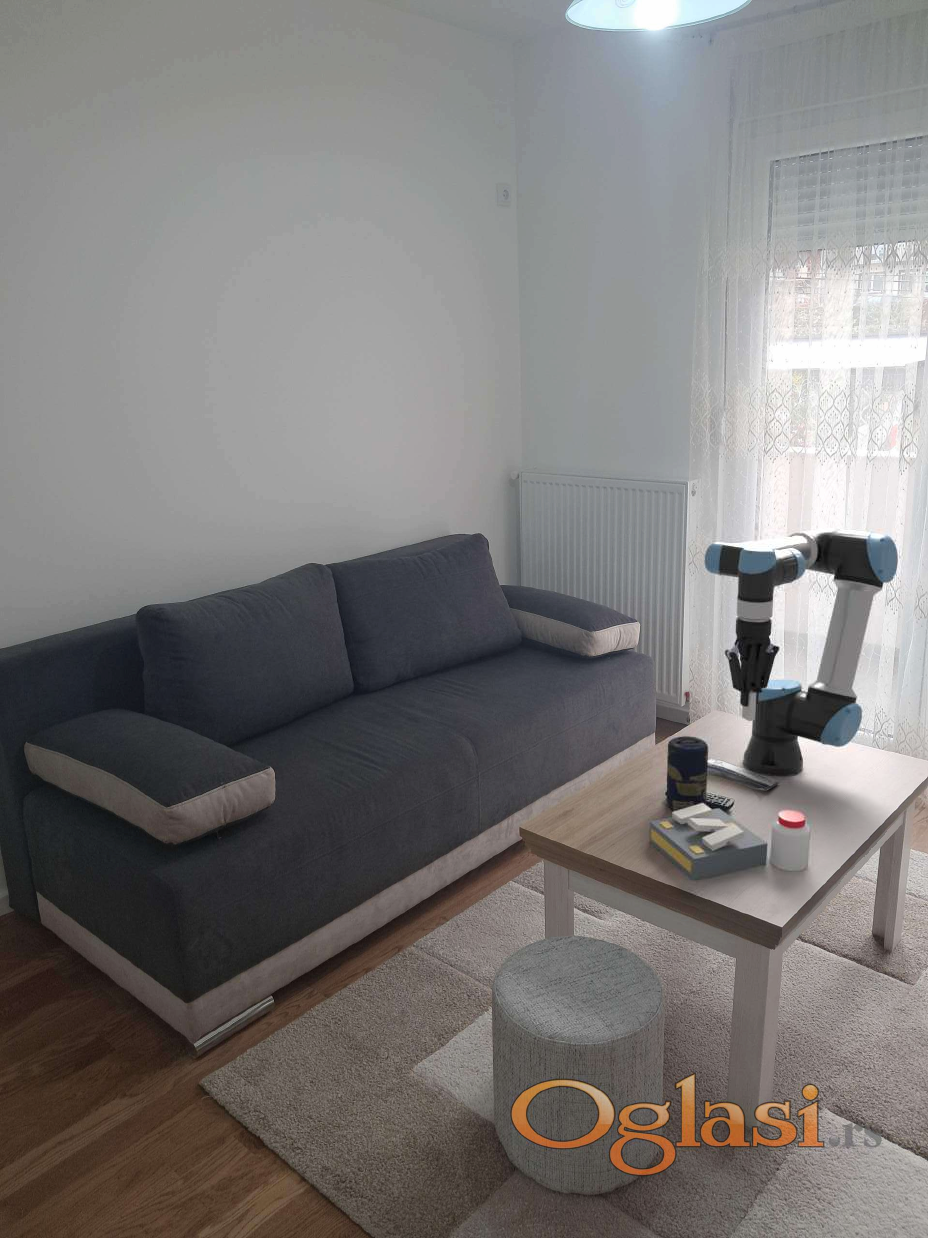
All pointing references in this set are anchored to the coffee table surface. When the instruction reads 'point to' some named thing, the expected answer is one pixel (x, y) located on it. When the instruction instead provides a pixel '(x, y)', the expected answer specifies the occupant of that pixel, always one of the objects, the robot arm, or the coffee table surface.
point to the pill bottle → (790, 841)
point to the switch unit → (706, 848)
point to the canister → (686, 772)
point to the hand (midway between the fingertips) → (748, 718)
